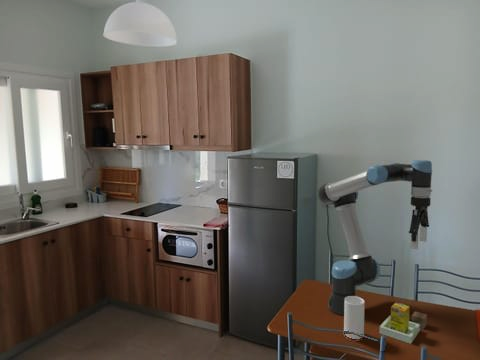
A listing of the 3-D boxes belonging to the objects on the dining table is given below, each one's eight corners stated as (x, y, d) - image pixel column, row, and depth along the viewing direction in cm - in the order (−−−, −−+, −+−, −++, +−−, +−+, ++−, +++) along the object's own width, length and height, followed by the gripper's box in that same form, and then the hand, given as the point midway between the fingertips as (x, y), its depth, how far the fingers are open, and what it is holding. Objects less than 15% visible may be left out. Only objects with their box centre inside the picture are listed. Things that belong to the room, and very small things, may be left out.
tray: (379, 333, 157) (379, 326, 156) (389, 321, 166) (389, 315, 166) (410, 343, 148) (411, 337, 148) (419, 330, 158) (419, 324, 158)
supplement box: (389, 330, 157) (390, 306, 156) (394, 325, 161) (395, 302, 160) (404, 335, 153) (405, 311, 152) (408, 329, 157) (409, 306, 156)
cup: (364, 341, 151) (365, 305, 149) (344, 339, 152) (345, 303, 151) (362, 331, 159) (363, 296, 157) (343, 329, 160) (343, 295, 159)
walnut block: (411, 325, 163) (412, 315, 162) (414, 321, 166) (415, 311, 166) (423, 329, 159) (424, 318, 159) (426, 325, 163) (427, 314, 162)
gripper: (422, 201, 141) (420, 253, 143) (437, 193, 159) (435, 239, 162) (402, 199, 146) (400, 250, 148) (419, 192, 164) (417, 236, 167)
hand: (418, 244), depth 155 cm, fingers open, 13 cm apart
